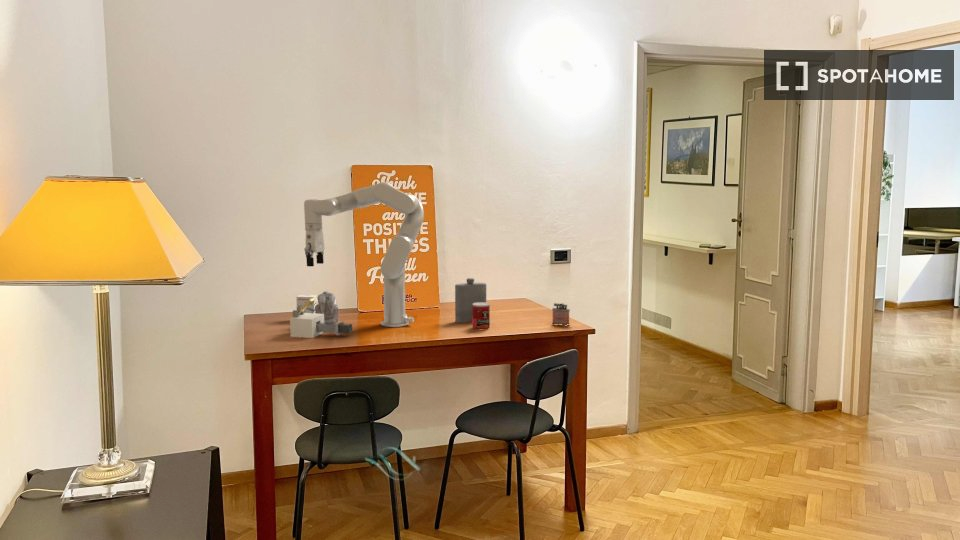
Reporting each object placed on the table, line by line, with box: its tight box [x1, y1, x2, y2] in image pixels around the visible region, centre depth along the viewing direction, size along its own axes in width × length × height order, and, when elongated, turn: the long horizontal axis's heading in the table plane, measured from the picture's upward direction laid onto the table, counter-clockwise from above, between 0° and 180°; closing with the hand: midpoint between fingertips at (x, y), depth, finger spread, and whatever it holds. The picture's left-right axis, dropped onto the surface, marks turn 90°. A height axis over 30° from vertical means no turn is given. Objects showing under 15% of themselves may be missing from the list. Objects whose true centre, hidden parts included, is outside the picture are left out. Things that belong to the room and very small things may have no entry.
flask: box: [454, 277, 487, 324], centre depth 346 cm, size 15×6×20 cm, turn 109°
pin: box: [316, 320, 353, 336], centre depth 317 cm, size 19×6×5 cm, turn 78°
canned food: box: [471, 302, 491, 330], centre depth 332 cm, size 8×8×11 cm
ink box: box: [296, 294, 318, 313], centre depth 348 cm, size 9×5×12 cm, turn 84°
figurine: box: [315, 291, 339, 323], centre depth 336 cm, size 10×11×15 cm
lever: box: [298, 298, 315, 315], centre depth 319 cm, size 10×4×2 cm
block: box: [289, 308, 324, 339], centre depth 319 cm, size 10×12×11 cm
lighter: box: [551, 302, 571, 325], centre depth 338 cm, size 8×3×10 cm, turn 65°
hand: (315, 264), depth 337 cm, fingers open, 9 cm apart
